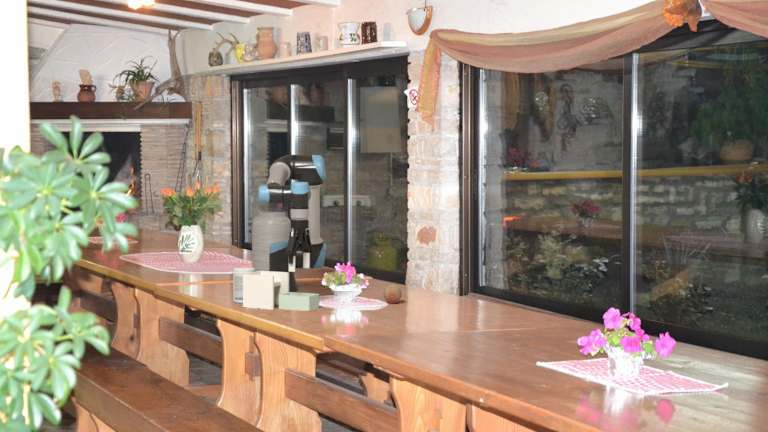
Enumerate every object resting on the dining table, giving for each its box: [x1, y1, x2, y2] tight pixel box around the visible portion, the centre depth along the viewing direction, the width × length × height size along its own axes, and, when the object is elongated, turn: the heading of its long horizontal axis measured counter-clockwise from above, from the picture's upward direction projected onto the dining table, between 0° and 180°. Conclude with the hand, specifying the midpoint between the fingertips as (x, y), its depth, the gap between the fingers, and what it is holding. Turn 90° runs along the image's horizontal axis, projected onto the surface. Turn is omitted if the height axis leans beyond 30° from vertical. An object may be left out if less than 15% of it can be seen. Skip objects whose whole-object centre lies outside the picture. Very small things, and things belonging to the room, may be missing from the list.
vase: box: [251, 211, 292, 272], centre depth 547 cm, size 20×20×34 cm
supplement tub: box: [232, 267, 255, 304], centre depth 456 cm, size 10×10×15 cm
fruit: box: [383, 284, 403, 305], centre depth 459 cm, size 8×8×8 cm
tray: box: [278, 291, 320, 312], centre depth 440 cm, size 10×14×6 cm
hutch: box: [242, 271, 289, 310], centre depth 446 cm, size 15×14×14 cm
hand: (299, 269), depth 440 cm, fingers open, 13 cm apart
